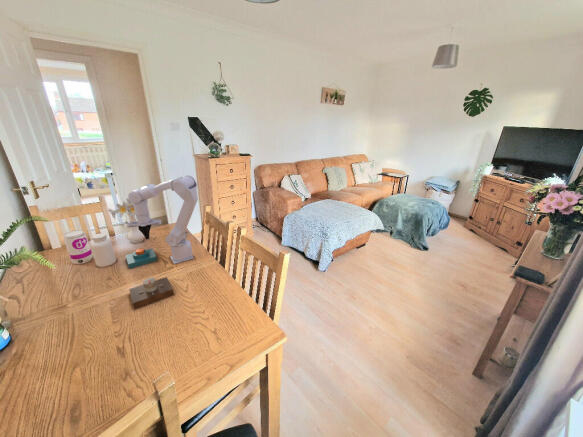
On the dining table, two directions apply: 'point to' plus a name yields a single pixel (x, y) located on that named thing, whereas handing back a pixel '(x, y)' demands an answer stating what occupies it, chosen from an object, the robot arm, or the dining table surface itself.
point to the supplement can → (78, 246)
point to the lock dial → (150, 284)
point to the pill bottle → (102, 250)
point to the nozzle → (139, 251)
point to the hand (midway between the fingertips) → (147, 238)
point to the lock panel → (151, 293)
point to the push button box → (141, 258)
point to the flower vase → (134, 232)
